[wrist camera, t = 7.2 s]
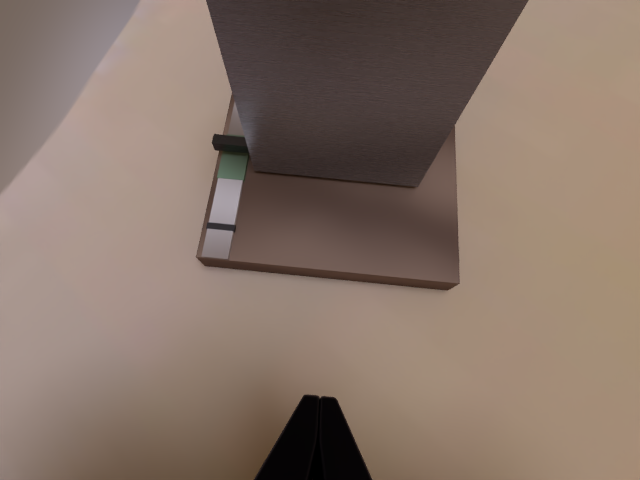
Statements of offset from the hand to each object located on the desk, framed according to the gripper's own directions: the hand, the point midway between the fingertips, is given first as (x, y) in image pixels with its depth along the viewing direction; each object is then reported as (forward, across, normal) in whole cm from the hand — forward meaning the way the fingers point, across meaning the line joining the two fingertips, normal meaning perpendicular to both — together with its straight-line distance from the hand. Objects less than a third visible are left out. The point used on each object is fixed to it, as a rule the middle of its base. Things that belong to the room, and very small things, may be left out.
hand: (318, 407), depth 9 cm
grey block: (+13, +1, -6) cm, 14 cm away
